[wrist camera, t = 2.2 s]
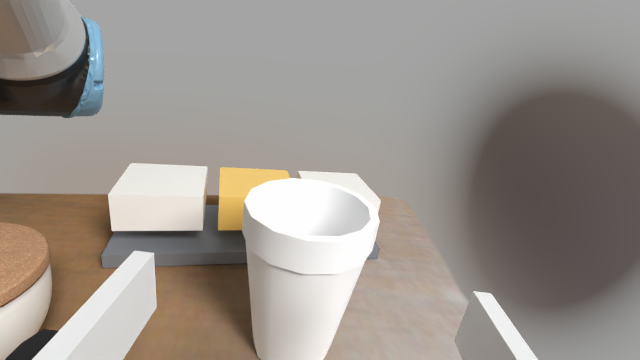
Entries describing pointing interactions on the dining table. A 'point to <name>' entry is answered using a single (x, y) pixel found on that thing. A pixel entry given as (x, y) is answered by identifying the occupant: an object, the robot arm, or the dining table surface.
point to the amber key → (240, 192)
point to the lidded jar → (22, 284)
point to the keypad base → (184, 245)
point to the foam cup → (303, 262)
